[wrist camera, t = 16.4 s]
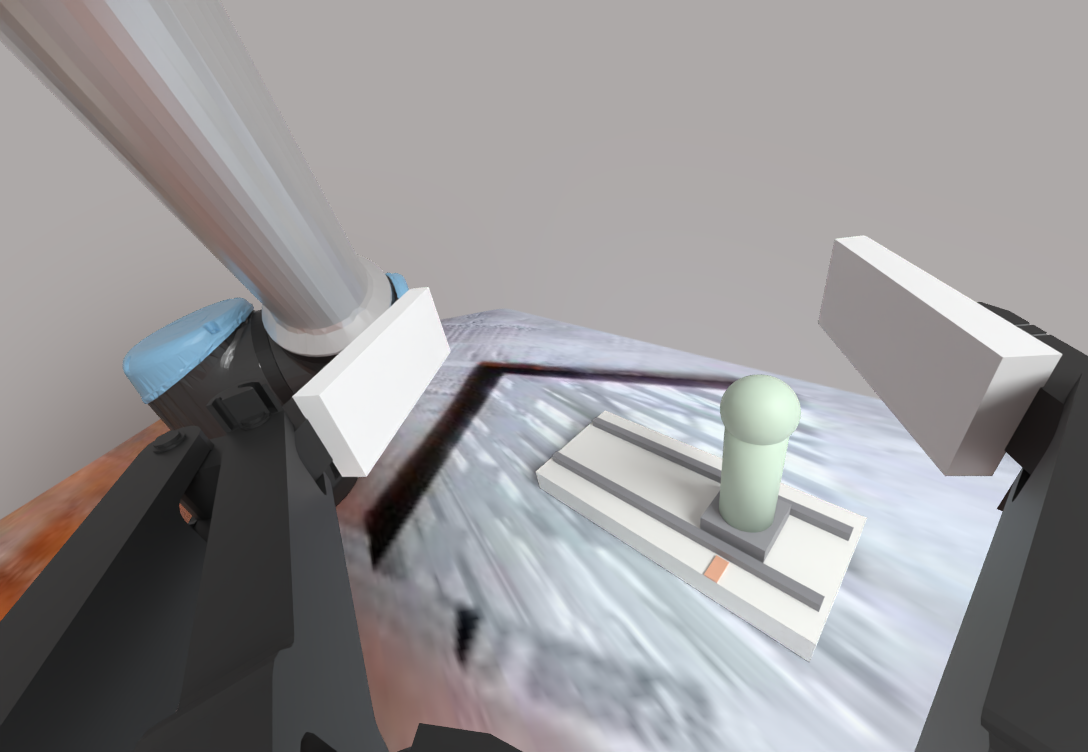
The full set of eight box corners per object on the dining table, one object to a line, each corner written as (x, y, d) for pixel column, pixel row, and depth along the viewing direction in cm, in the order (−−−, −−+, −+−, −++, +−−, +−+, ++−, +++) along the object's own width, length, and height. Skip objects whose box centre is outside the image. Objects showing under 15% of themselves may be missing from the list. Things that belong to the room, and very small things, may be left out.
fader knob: (700, 528, 34) (705, 390, 27) (728, 489, 37) (740, 352, 30) (763, 563, 31) (790, 416, 24) (788, 516, 34) (820, 371, 26)
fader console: (539, 487, 45) (534, 466, 43) (607, 426, 51) (604, 405, 49) (809, 662, 28) (818, 638, 26) (859, 537, 34) (869, 511, 32)
